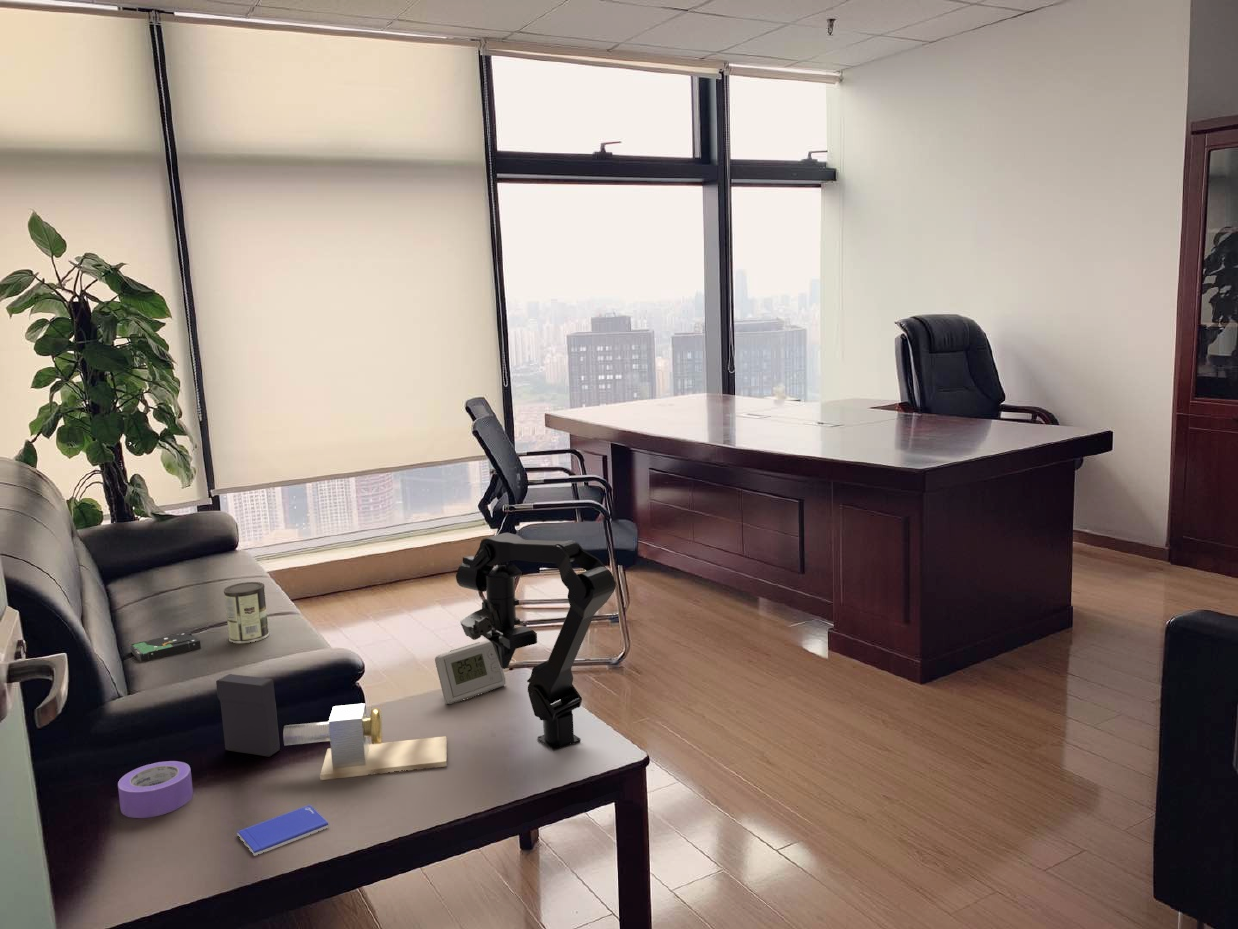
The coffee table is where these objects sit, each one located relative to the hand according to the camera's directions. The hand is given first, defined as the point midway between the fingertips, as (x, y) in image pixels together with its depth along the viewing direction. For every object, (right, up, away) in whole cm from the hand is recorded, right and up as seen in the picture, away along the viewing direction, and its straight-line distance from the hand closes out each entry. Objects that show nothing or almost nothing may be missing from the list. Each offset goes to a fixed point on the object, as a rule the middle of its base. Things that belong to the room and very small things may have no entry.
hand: (504, 668), depth 195 cm
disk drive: (-95, -7, +53) cm, 109 cm away
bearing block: (-28, -14, -14) cm, 34 cm away
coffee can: (-77, -5, +61) cm, 98 cm away
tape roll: (-59, -19, -26) cm, 67 cm away
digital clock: (-9, -10, +18) cm, 23 cm away
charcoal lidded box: (-49, -15, -7) cm, 52 cm away
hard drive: (-32, -20, -37) cm, 53 cm away
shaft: (-31, -12, -15) cm, 36 cm away
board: (-21, -15, -13) cm, 29 cm away
